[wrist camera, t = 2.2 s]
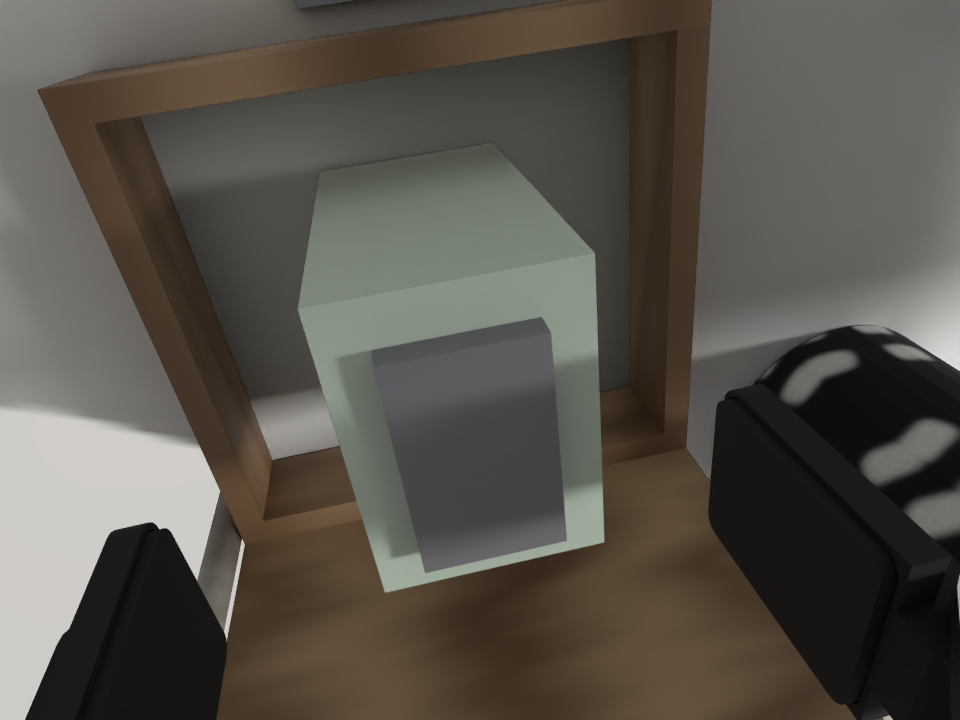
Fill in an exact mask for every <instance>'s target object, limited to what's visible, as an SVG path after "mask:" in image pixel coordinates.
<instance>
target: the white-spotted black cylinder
mask: <svg viewBox="0 0 960 720" xmlns="http://www.w3.org/2000/svg"><path fill="white" fill-rule="evenodd" d="M757 384H762V385H764V386H766V387H767V388H769V389H770V390H771V391H772V392H773V393H774V394H775V395H776V396H777V397H778V398H779V399H781V400H782V401H783V402H784V403H785V404H786V405H787V406H788V407H789V408H790V409H792V410H793V411H794V412H795V413H796V414H797V415H798V416H799V417H800V418H801V419H802V420H804V421H805V422H806V423H807V424H808V425H809V426H810V427H811V428H812V429H813V430H814V431H816V432H817V433H818V434H819V435H820V436H821V437H822V438H823V439H824V440H825V441H827V442H828V443H829V444H830V445H831V446H832V447H833V448H834V449H835V450H836V451H837V452H839V453H840V454H841V455H842V456H843V457H844V458H845V459H846V460H847V461H849V462H850V463H851V464H852V465H853V466H854V467H855V468H856V469H857V470H858V471H860V472H861V473H862V474H863V475H864V476H865V477H866V478H867V479H868V480H869V481H870V482H872V483H873V484H874V485H875V486H876V487H877V488H878V489H879V490H880V491H881V492H883V493H884V494H885V495H886V496H887V497H888V498H889V499H890V500H891V501H892V502H893V503H895V504H896V505H897V506H898V507H899V508H900V509H901V510H902V511H903V512H904V513H906V514H907V515H908V516H909V517H910V518H911V519H912V520H913V521H914V522H915V523H916V524H918V525H919V526H920V527H921V528H922V529H923V530H924V531H925V532H926V533H927V534H929V535H930V536H931V537H932V538H933V539H934V540H935V541H936V542H937V543H938V544H939V545H941V546H942V547H943V548H944V549H945V550H946V551H947V552H948V553H949V554H950V555H952V556H953V557H954V558H955V559H956V560H957V561H958V562H959V563H960V371H958V370H957V369H955V368H954V367H952V366H951V365H949V364H947V363H946V362H944V361H943V360H941V359H939V358H938V357H936V356H935V355H933V354H931V353H930V352H928V351H927V350H925V349H924V348H922V347H920V346H919V345H917V344H916V343H914V342H912V341H911V340H909V339H908V338H906V337H905V336H903V335H901V334H899V333H897V332H895V331H892V330H890V329H888V328H884V327H877V326H871V325H866V326H850V327H846V328H841V329H837V330H833V331H829V332H827V333H825V334H822V335H820V336H817V337H815V338H812V339H810V340H808V341H806V342H805V343H803V344H801V345H800V346H798V347H796V348H795V349H793V350H791V351H790V352H788V353H787V354H786V355H785V356H783V357H782V358H781V359H779V360H778V361H777V362H776V363H774V364H773V365H772V366H771V367H770V368H769V369H768V370H767V371H766V372H765V373H764V374H763V375H762V376H761V377H760V378H759V379H758V381H757V382H756V383H755V384H754V385H757Z"/></svg>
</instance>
